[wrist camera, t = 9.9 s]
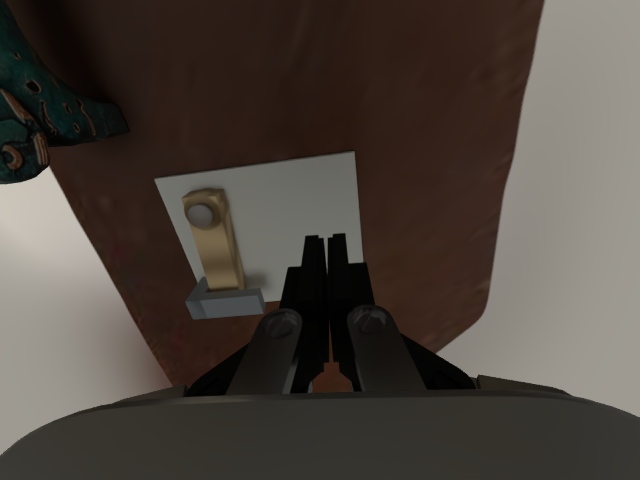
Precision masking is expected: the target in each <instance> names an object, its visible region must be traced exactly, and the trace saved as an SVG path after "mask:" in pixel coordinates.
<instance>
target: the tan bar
mask: <svg viewBox="0 0 640 480" xmlns="http://www.w3.org/2000/svg"><path fill="white" fill-rule="evenodd" d="M181 199H182V202H183V205H184V214H185V217H186V219H187V220H188V221H189V225H190V228H191V231H192V234H193V237H194V241H195V244H196V247H197V250H198V253H199V257H200V260H201V263H202V266H203V269H204V273H205V276H206V279H207V282H208V286H209V289H210V292H220V291H231V290H242V289H247V288H246V284H245V279H244V275H243V271H242V267H241V262H240V258H239V254H238V250H237V245H236V241H235V237H234V233H233V228H232V224H231V220H230V215H229V204H228V202H227V200H226V198H225V194H224V190H223V189H216V190H214V189H210V188H206V189H202V190H197V191H190V192H189V193H187V194H186V195H184V196H183V197H182V198H181Z"/></svg>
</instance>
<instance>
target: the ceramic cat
mask: <svg viewBox="0 0 640 480" xmlns="http://www.w3.org/2000/svg"><path fill="white" fill-rule="evenodd" d="M126 132H130V131H129V129H128V126H127V124H126V122H125V119H124V117H123V115H122V112H121V110H120V108H119V107H118V106H117V105H115V104H112V103H104V102H99V101H96V100H94V99H91V98H88V97H86V96H84V95H83V94H81V93H80V92H78V91H77V90H75V89H73V88H72V87H70V86H69V85H67V84H66V83H64V82H63V81H61V80H60V79H59V78H57V77H56V76H55V75H54V74H53V73H52V72H51V71H50V70H49V69H48V68H47V67H46V65H45V64H44V63H43V62H42V60H41V59H40V57H39V56H38V54H37V53H36V52H35V50H34V49H33V47H32V46H31V45H30V43H29V42H28V41H27V39H26V38H25V36H24V35H23V33H22V31H21V30H20V28H19V27H18V25H17V23H16V21H15V19H14V16H13V15H12V13H11V11H10V9H9V7H8V5H7V4H6V1H5V0H0V184H11V183H18V182H23V181H26V180H30V179H32V178H34V177H36V176H38V175H39V174H40V173H41V172H42V171H43V170H45V169H46V168H47V167H48V166H49V164H50V152H49V147H60V146H73V145H77V144H81V143H89V142H96V141H102V140H104V139H106V138H109V137H112V136H115V135H119V134H123V133H126Z"/></svg>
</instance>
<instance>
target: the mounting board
mask: <svg viewBox="0 0 640 480" xmlns="http://www.w3.org/2000/svg"><path fill="white" fill-rule="evenodd" d="M154 180H155V182H156V185H157V187H158V189H159V192H160V194H161V197H162V199H163V201H164V204H165V206H166V208H167V211H168V213H169V216H170V218H171V220H172V223H173V225H174V227H175V230H176V232H177V234H178V237H179V239H180V242H181V244H182V246H183V249H184V251H185V253H186V256H187V258H188V261H189V263H190V265H191V268H192V270H193V272H194V275H195V277H196V280H197V282H198V284H197V285H196V287H195V288H194V290H193V291H192V292H191V294H190V295H189V297H188V298H187V300H186V301H185V303H186V305H187V307H188V309H189V311H190V314H191V316H192V318H193V319H205V318H217V317H229V316H241V315H253V314H263V313H264V310H265V306H266V305H265V302H267V301H279V300H281V297H282V292H283V287H284V283H285V278H286V273H287V269H288V267H294V266H301V263H302V256H303V249H304V242H305V236H307V235H319V238H324V245H325V256H326V266H327V261H328V237H333V234H337V233H345V234H346V244H347V253H348V262H349V263H362V262H363V254H362V241H361V228H360V216H359V203H358V190H357V178H356V165H355V153H354V151H349V152H342V153H334V154H327V155H319V156H312V157H305V158H297V159H290V160H282V161H275V162H268V163H260V164H253V165H245V166H238V167H231V168H223V169H216V170H208V171H201V172H194V173H186V174H179V175H172V176H164V177H158V178H156V179H154ZM206 188H210V189H214V190H216V189H223V190H224V194H225V198H226V200H227V202H228V204H229V215H230V220H231V224H232V228H233V233H234V237H235V241H236V245H237V250H238V254H239V258H240V262H241V267H242V271H243V275H244V279H245V284H246V288H247V289H242V290H231V291H220V292H210V289H209V286H208V282H207V279H206V276H205V273H204V269H203V266H202V263H201V260H200V257H199V253H198V250H197V247H196V244H195V241H194V237H193V234H192V231H191V228H190V225H189V221H188V220H187V219H186V217H185V214H184V205H183V202H182V199H181V198H182V197H183V196H184V195H186V194H187V193H189V192H190V191H197V190H202V189H206Z"/></svg>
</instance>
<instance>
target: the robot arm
mask: <svg viewBox="0 0 640 480" xmlns="http://www.w3.org/2000/svg"><path fill="white" fill-rule="evenodd" d="M329 321H330V331H331V340H332V350H333V360H334V362H339V369H340V372H341V373H342V374H343V375H344V376H345V377H347V378H348V379H349V380H350V381H351V389H352V392H329V393H312V389H313V379H314V378H315V377H316V376H318V375H319V374H320V373H321V372H324V363H327V362H329ZM0 480H640V417H637V416H635V415H632V414H630V413H628V412H625V411H623V410H620V409H617V408H615V407H612V406H608V405H605V404H601V403H598V402H595V401H591V400H588V399H584V398H580V397H575V396H572V395H570V394H568V393H566V392H565V391H563V390H559V389H557V388H553V387H548V386H543V385H536V384H531V383H525V382H519V381H513V380H507V379H501V378H496V377H490V376H484V375H478V377H477V378H473V377H469V376H468V375H467V374H466V373H465V372H463V371H462V370H461V369H459V368H458V367H456V366H454V365H453V364H451V363H449V362H448V361H446V360H444V359H443V358H441V357H439V356H438V355H436V354H434V353H433V352H431V351H429V350H428V349H426V348H425V347H423V346H421V345H420V344H418V343H416V342H415V341H413V340H411V339H410V338H408V337H406V336H405V335H403V334H401V333H400V332H399V330H398V328H397V326H396V323H395V321H394V319H393V317H392V316H391V314H390V313H389V312H388V311H387V310H386V309H384V308H382V307H380V306H378V305H375V302H374V297H373V292H372V287H371V282H370V277H369V273H368V268H367V263H366V262H362V263H349V262H348V253H347V244H346V234H345V233H337V234H333V237H328V261H327V266H326V256H325V245H324V238H319V235H307V236H305V242H304V249H303V256H302V263H301V266H294V267H288V269H287V273H286V278H285V283H284V287H283V292H282V297H281V302H280V306H279V309H277V310H274V311H271V312H270V313H268V314H266V315H265V316H264V317H263V318H262V319H261V321H260V322H259V324H258V326H257V328H256V330H255V332H254V334H253V337H252V339H251V341H250V343H248V344H247V345H245V346H244V347H243V348H241V349H240V350H238V351H237V352H235V353H234V354H233V355H231V356H230V357H228V358H227V359H226V360H224V361H223V362H221V363H220V364H218V365H217V366H216V367H214V368H213V369H211V370H210V371H208V372H207V373H206V374H204V375H203V376H201V377H200V378H199V379H198V380H197V381H195V382H194V383H193V385H192V386H190V387H187V386H186V384H182V385H178V386H174V387H170V388H166V389H162V390H158V391H154V392H150V393H147V394H142V395H139V396H134V397H130V398H126V399H123V400H120V401H117V402H115V403H112V404H107V405H101V406H97V407H93V408H90V409H86V410H82V411H79V412H76V413H74V414H71V415H68V416H65V417H63V418H60V419H57V420H55V421H52V422H50V423H48V424H46V425H44V426H42V427H40V428H38V429H36V430H34V431H32V432H30V433H29V434H27V435H26V436H24V437H23V438H21V439H20V440H18V441H17V442H16V443H14V445H12V446H11V447H10V448H8V449H7V450H6V451H5V452H4V453H3V454H1V455H0Z"/></svg>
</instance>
